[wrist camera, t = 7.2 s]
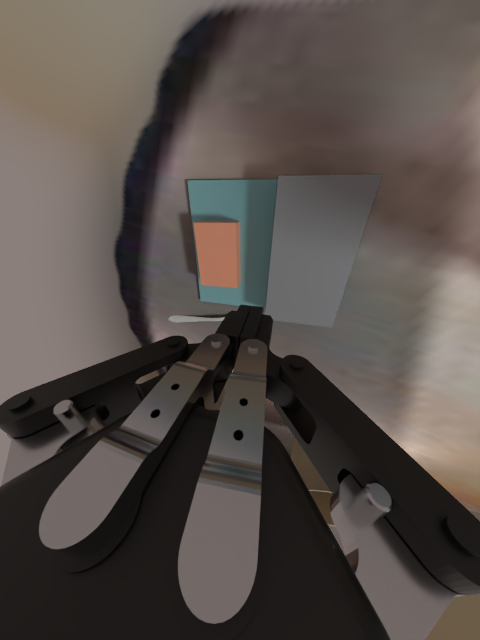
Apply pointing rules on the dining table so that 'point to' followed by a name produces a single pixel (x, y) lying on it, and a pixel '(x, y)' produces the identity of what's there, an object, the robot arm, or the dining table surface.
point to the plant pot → (313, 481)
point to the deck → (316, 244)
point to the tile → (218, 253)
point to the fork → (193, 318)
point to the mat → (255, 232)
